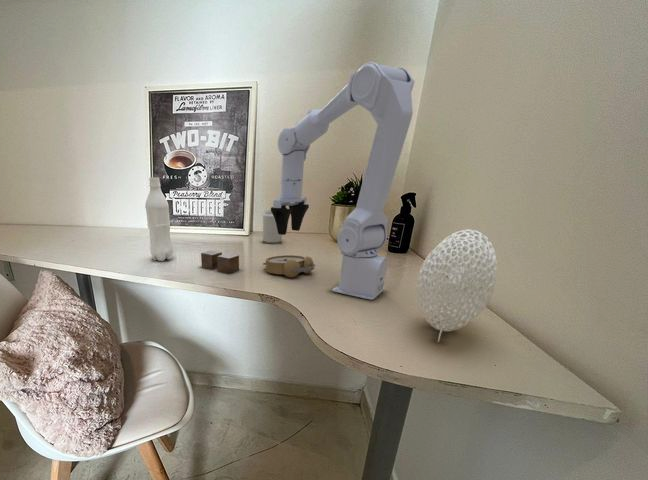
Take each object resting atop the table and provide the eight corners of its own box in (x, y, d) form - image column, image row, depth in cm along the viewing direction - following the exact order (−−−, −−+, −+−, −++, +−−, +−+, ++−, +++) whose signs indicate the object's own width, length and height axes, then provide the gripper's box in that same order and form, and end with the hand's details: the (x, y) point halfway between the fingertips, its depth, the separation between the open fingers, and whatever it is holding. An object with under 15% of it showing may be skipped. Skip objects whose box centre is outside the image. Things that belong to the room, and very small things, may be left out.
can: (259, 240, 134) (260, 209, 129) (276, 239, 136) (277, 208, 131) (267, 244, 128) (268, 212, 123) (284, 243, 130) (286, 210, 125)
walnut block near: (239, 270, 97) (239, 255, 95) (229, 273, 94) (229, 258, 92) (227, 267, 99) (227, 253, 98) (217, 271, 96) (217, 256, 94)
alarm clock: (285, 253, 101) (324, 254, 89) (286, 270, 103) (325, 272, 90) (256, 259, 96) (294, 260, 83) (258, 276, 97) (295, 280, 85)
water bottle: (175, 260, 108) (168, 177, 98) (153, 263, 106) (143, 178, 96) (170, 255, 114) (163, 176, 104) (149, 258, 112) (140, 177, 102)
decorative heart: (419, 308, 69) (438, 223, 62) (482, 321, 63) (511, 228, 56) (395, 341, 56) (417, 239, 49) (471, 361, 50) (508, 248, 43)
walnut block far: (222, 266, 101) (221, 252, 99) (212, 269, 98) (211, 255, 96) (211, 264, 103) (211, 250, 101) (201, 267, 100) (200, 252, 98)
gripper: (292, 179, 96) (289, 227, 102) (263, 181, 86) (262, 234, 92) (314, 179, 92) (310, 229, 98) (287, 181, 82) (285, 237, 87)
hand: (288, 232), depth 94 cm, fingers open, 7 cm apart
